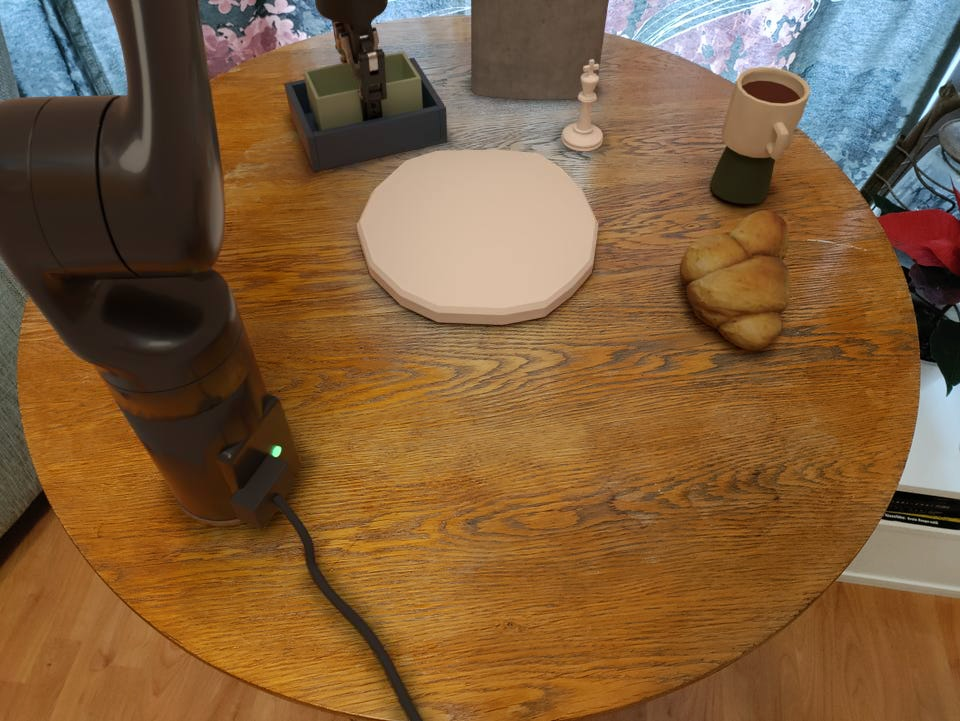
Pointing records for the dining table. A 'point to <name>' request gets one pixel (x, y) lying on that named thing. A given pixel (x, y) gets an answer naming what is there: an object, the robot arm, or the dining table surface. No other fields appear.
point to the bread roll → (741, 279)
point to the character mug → (757, 132)
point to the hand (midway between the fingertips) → (365, 108)
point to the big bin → (367, 129)
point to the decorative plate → (479, 236)
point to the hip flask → (534, 47)
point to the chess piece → (584, 116)
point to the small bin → (339, 92)
